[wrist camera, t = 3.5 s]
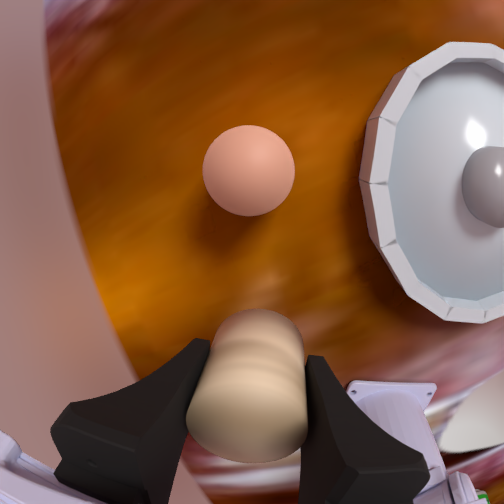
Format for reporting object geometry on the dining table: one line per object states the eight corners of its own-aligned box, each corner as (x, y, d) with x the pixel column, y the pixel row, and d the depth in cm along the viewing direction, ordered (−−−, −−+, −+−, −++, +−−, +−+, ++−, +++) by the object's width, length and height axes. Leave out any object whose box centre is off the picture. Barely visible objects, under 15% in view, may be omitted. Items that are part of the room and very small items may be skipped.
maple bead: (294, 385, 15) (294, 468, 10) (212, 373, 15) (186, 452, 10) (311, 315, 13) (321, 396, 9) (217, 302, 14) (185, 376, 9)
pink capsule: (286, 203, 19) (287, 222, 14) (219, 194, 19) (198, 209, 14) (296, 137, 18) (300, 132, 13) (227, 128, 18) (208, 121, 13)
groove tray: (524, 313, 19) (539, 327, 17) (335, 290, 20) (341, 308, 18) (565, 107, 14) (584, 107, 11) (376, 16, 15) (387, 1, 12)
